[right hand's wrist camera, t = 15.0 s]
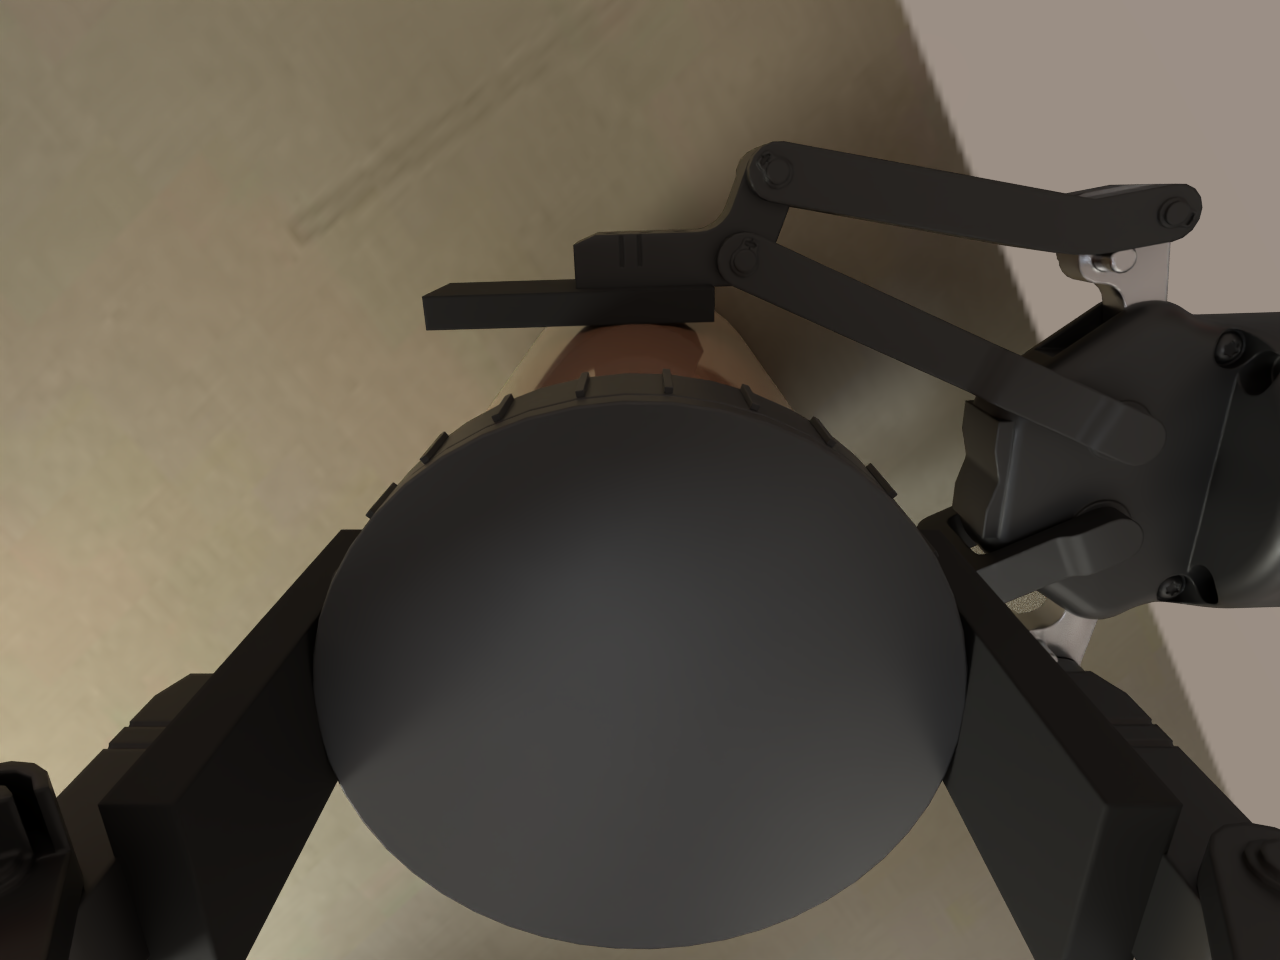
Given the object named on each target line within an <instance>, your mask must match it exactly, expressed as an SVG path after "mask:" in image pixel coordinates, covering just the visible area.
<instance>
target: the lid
mask: <svg viewBox="0 0 1280 960" xmlns="http://www.w3.org/2000/svg"><path fill="white" fill-rule="evenodd" d="M895 496H897V493H896V492H895V491H894V490H893V488H892V487H891V486H890V485H889V484H888V483H887V481H886V480H885V479H884V478H883V477H882V475H881V474H880V473H879V472H878V471H877V470H876V468H875V467H874V466H873V465H872V464H871V463H870V464H869V465H868V466H866V467H865V466H864V465H863V463H862V462H861V461H860V460H859V459H858V458H857V457H856V456H855V455H854V454H853V453H852V452H850V451H849V450H848V449H847V448H846V447H844V446H843V445H842V444H841V443H840V442H838V441H837V440H836V439H835V438H834V437H832V436H831V435H830V433H829V432H828V431H827V429H826V428H825V427H824V426H823V424H822V423H821V422H820V421H819V419H817V418H815V417H814V416H813V417H812V419H811V420H810V421H809V420H807V419H806V418H804V417H802V416H801V415H799V414H797V413H796V412H794V411H793V410H791V409H789V408H787V407H784V406H782V405H780V404H777V403H775V402H773V401H771V400H768V399H766V398H764V397H762V396H759V395H757V394H755V393H753V392H752V390H751V388H750V387H749V386H748V385H745V384H742V385H741V388H740V389H739V388H735V387H732V386H728V385H725V384H721V383H718V382H715V381H710V380H704V379H697V378H691V377H684V376H678V375H671V371H670V369H663V370H662V374H639V373H623V374H614V375H604V376H595V377H590V376H589V372H584V373H581V376H580V379H576V380H572V381H568V382H563V383H559V384H555V385H551V386H547V387H543V388H540V389H537V390H534V391H532V392H529V393H527V394H524V395H521V396H519V397H516V398H514V397H513V395H512V394H511V393H510V394H508V395H506V396H505V397H504V398H503V400H502V401H501V403H500V404H499V405H498V406H496V407H494V408H492V409H490V410H488V411H487V412H485V413H483V414H481V415H479V416H478V417H476V418H474V419H472V420H470V421H469V422H467V423H465V424H464V425H463V426H461V427H460V428H459V429H457V430H456V431H455V432H453V433H452V434H451V435H449V436H448V435H447V433H446V432H443V433H442V434H441V435H439V437H438V438H437V439H436V440H435V441H434V443H433V444H432V445H431V446H430V447H429V449H428V450H427V451H426V452H425V453H424V455H423V456H422V457H421V458H420V462H419V463H418V464H417V465H416V466H415V467H414V468H413V469H412V470H411V471H410V472H409V473H408V474H407V475H406V476H405V477H404V478H403V480H402V481H401V482H400V483H399V484H398V485H397V484H395V483H394V482H393V483H392V484H391V485H390V486H389V488H388V489H387V490H386V491H385V492H384V494H383V495H382V496H381V497H380V498H379V499H378V501H377V502H376V503H375V504H374V505H373V506H372V508H371V509H370V510H369V511H368V513H367V514H366V516H367V517H368V518H370V520H369V521H368V523H367V524H366V525H365V527H364V528H363V529H362V531H361V532H360V534H359V535H358V536H357V538H356V539H355V540H354V542H353V543H352V544H351V546H350V547H349V549H348V551H347V553H346V555H345V557H344V559H343V560H342V562H341V564H340V566H339V568H338V569H337V570H336V571H335V573H334V574H333V577H332V582H331V584H330V587H329V590H328V593H327V596H326V599H325V602H324V605H323V608H322V611H321V614H320V617H319V622H318V628H317V634H316V640H315V646H314V652H313V693H314V699H315V705H316V710H317V716H318V722H319V728H320V732H321V737H322V741H323V744H324V748H325V751H326V754H327V757H328V760H329V763H330V765H331V767H332V769H333V771H334V773H335V775H336V777H337V779H338V781H339V784H340V786H341V788H342V790H343V792H344V794H345V795H346V797H347V798H348V800H349V801H350V803H351V804H352V806H353V807H354V809H355V810H356V812H357V813H358V815H359V816H360V818H361V819H362V821H363V822H364V824H365V825H366V826H367V827H368V828H369V829H370V830H371V832H372V833H373V834H374V835H375V836H376V837H377V839H378V840H379V841H380V842H381V843H382V844H383V845H384V847H385V848H386V849H387V850H388V851H389V852H390V853H392V854H393V855H394V856H395V857H396V858H397V859H398V860H399V861H400V862H402V863H403V864H404V865H405V866H406V867H407V868H408V869H409V870H410V871H412V872H413V873H414V874H415V875H417V876H418V877H419V878H421V879H422V880H424V881H425V882H426V883H428V884H429V885H431V886H432V887H434V888H435V889H436V890H438V891H439V892H441V893H442V894H444V895H445V896H447V897H449V898H451V899H453V900H454V901H456V902H458V903H460V904H462V905H463V906H465V907H467V908H469V909H470V910H472V911H474V912H476V913H479V914H481V915H483V916H486V917H488V918H490V919H493V920H495V921H497V922H500V923H502V924H504V925H507V926H510V927H513V928H516V929H519V930H522V931H526V932H529V933H532V934H535V935H538V936H542V937H546V938H551V939H555V940H560V941H565V942H570V943H575V944H580V945H589V946H598V947H607V948H620V949H659V948H672V947H685V946H693V945H698V944H704V943H710V942H716V941H721V940H726V939H730V938H734V937H737V936H741V935H744V934H748V933H752V932H755V931H759V930H762V929H764V928H767V927H770V926H772V925H775V924H777V923H780V922H783V921H785V920H788V919H790V918H793V917H795V916H797V915H799V914H801V913H803V912H805V911H807V910H809V909H811V908H813V907H815V906H817V905H819V904H821V903H823V902H825V901H827V900H828V899H830V898H831V897H833V896H834V895H836V894H837V893H839V892H840V891H842V890H843V889H845V888H847V887H848V886H850V885H851V884H853V883H854V882H856V881H857V880H858V879H860V878H861V877H862V876H863V875H864V874H866V873H867V872H868V871H869V870H870V869H872V868H873V867H874V866H875V865H876V864H878V863H879V862H880V861H881V860H882V859H884V858H885V857H886V856H887V855H888V854H889V852H890V851H891V850H892V849H893V848H894V847H895V846H896V845H897V844H898V843H899V842H900V841H901V840H902V839H903V838H904V837H905V836H906V835H907V834H908V832H909V831H910V830H911V828H912V827H913V826H914V824H915V823H916V822H917V820H918V819H919V817H920V816H921V815H922V813H923V812H924V811H925V809H926V808H927V807H928V805H929V804H930V802H931V800H932V798H933V796H934V795H935V793H936V791H937V789H938V787H939V785H940V784H941V782H942V780H943V778H944V776H945V774H946V772H947V770H948V767H949V764H950V762H951V759H952V756H953V753H954V751H955V748H956V745H957V743H958V740H959V735H960V729H961V724H962V719H963V713H964V708H965V702H966V691H967V672H968V666H967V657H966V648H965V638H964V630H963V627H962V623H961V619H960V616H959V612H958V609H957V605H956V601H955V598H954V594H953V592H952V590H951V588H950V585H949V583H948V581H947V579H946V577H945V575H944V572H943V570H942V568H941V566H940V564H939V561H938V559H937V557H939V555H938V553H937V551H936V550H935V549H934V548H933V546H932V545H931V544H930V543H929V542H928V540H927V539H926V538H925V537H924V535H923V534H922V533H921V532H920V531H919V529H918V528H917V527H916V526H915V524H914V523H913V522H912V521H911V520H910V518H909V517H908V516H907V515H906V514H905V512H904V511H903V510H902V509H901V508H900V506H899V505H898V504H897V503H896V501H895V500H894V499H893V498H894V497H895Z"/></svg>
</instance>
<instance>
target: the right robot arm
mask: <svg viewBox="0 0 1280 960" xmlns="http://www.w3.org/2000/svg"><path fill="white" fill-rule="evenodd" d="M361 531H362V530H340V532H339V533H338V534H337V535H336V536H335V537H334V538H333V539H332V541H331V542H330V543H329V544H328V545H327V546H326V547H325V548H324V550H323V551H322V552H321V553H320V554H319V555H318V556H317V557H316V559H315V560H314V561H313V562H312V563H311V564H310V565H309V566H308V568H307V569H306V570H305V571H304V572H303V573H302V574H301V576H300V577H299V578H298V579H297V580H296V581H295V582H294V583H293V585H292V586H291V587H290V588H289V589H288V590H287V591H286V592H285V594H284V595H283V596H282V597H281V598H280V599H279V600H278V601H277V603H276V604H275V605H274V606H273V607H272V608H271V609H270V610H269V612H268V613H267V614H266V615H265V616H264V617H263V618H262V620H261V621H260V622H259V623H258V624H257V625H256V626H255V627H254V629H253V630H252V631H251V632H250V633H249V634H248V635H247V636H246V638H245V639H244V640H243V641H242V642H241V643H240V644H239V645H238V647H237V648H236V649H235V650H234V651H233V652H232V653H231V654H230V656H229V657H228V658H227V659H226V660H225V661H224V662H223V663H222V665H221V666H220V667H219V668H218V669H217V670H216V671H215V673H214V674H189V675H187V676H186V677H184V678H183V679H181V680H179V681H178V682H176V683H175V684H173V685H171V686H170V687H168V688H166V689H165V690H163V691H162V692H160V693H158V694H157V695H155V696H154V697H153V698H152V699H151V700H150V701H149V702H148V703H147V704H146V705H145V706H144V707H143V709H142V710H141V711H140V712H139V713H138V714H137V715H136V716H135V717H134V718H133V719H132V720H131V721H130V725H129V727H124V728H123V729H122V730H121V731H120V732H119V733H118V734H117V735H116V737H115V738H114V739H113V740H112V741H111V742H110V743H109V747H108V749H103V750H102V751H101V752H100V753H99V754H98V755H97V756H96V757H95V758H94V759H93V760H92V761H91V762H90V763H89V765H88V766H87V767H86V768H85V769H84V770H83V771H82V772H81V773H80V774H79V775H78V776H77V777H76V778H75V779H74V780H73V781H72V782H71V783H70V784H69V785H68V786H67V787H66V788H65V789H64V790H63V791H62V793H61V794H60V795H59V796H58V797H57V798H56V796H55V793H54V790H53V787H52V784H51V781H50V778H49V775H48V772H47V771H45V770H44V769H42V768H41V767H39V766H38V765H36V764H35V763H27V762H15V761H10V762H4V763H0V960H246V958H247V956H248V954H249V952H250V950H251V948H252V946H253V944H254V942H255V940H256V939H257V937H258V935H259V933H260V931H261V929H262V927H263V925H264V923H265V921H266V919H267V917H268V915H269V913H270V911H271V909H272V907H273V905H274V903H275V902H276V900H277V898H278V896H279V894H280V892H281V890H282V888H283V886H284V884H285V882H286V880H287V878H288V876H289V874H290V872H291V870H292V868H293V867H294V865H295V863H296V861H297V859H298V857H299V855H300V853H301V851H302V849H303V847H304V845H305V843H306V841H307V839H308V837H309V835H310V833H311V832H312V830H313V828H314V826H315V824H316V822H317V820H318V818H319V816H320V814H321V812H322V810H323V808H324V806H325V804H326V802H327V800H328V798H329V797H330V795H331V793H332V791H333V789H334V787H335V785H336V783H337V781H338V779H337V777H336V775H335V773H334V771H333V769H332V767H331V765H330V763H329V760H328V757H327V754H326V751H325V748H324V744H323V741H322V737H321V732H320V728H319V722H318V716H317V710H316V705H315V699H314V693H313V652H314V646H315V640H316V634H317V628H318V622H319V617H320V614H321V611H322V608H323V605H324V602H325V599H326V596H327V593H328V590H329V587H330V584H331V582H332V577H333V574H334V573H335V571H336V570H337V569H338V568H339V566H340V564H341V562H342V560H343V559H344V557H345V555H346V553H347V551H348V549H349V547H350V546H351V544H352V543H353V542H354V540H355V539H356V538H357V536H358V535H359V534H360V532H361ZM919 531H920V532H921V533H922V534H923V535H924V537H925V538H926V539H927V540H928V542H929V543H930V544H931V545H932V546H933V548H934V549H935V550H936V551H937V553H938V555H939V557H937V559H938V561H939V564H940V566H941V568H942V570H943V572H944V575H945V577H946V579H947V581H948V583H949V585H950V588H951V590H952V592H953V594H954V598H955V601H956V605H957V609H958V612H959V616H960V619H961V623H962V627H963V630H964V638H965V648H966V657H967V666H968V672H967V691H966V702H965V708H964V713H963V719H962V724H961V729H960V735H959V740H958V743H957V745H956V748H955V751H954V753H953V756H952V759H951V762H950V764H949V767H948V770H947V772H946V774H945V776H944V778H943V782H944V784H945V786H946V788H947V790H948V792H949V794H950V796H951V798H952V799H953V801H954V803H955V805H956V807H957V809H958V811H959V813H960V815H961V817H962V819H963V821H964V823H965V825H966V827H967V829H968V831H969V833H970V834H971V836H972V838H973V840H974V842H975V844H976V846H977V848H978V850H979V852H980V854H981V856H982V858H983V860H984V862H985V864H986V866H987V868H988V869H989V871H990V873H991V875H992V877H993V879H994V881H995V883H996V885H997V887H998V889H999V891H1000V893H1001V895H1002V897H1003V899H1004V901H1005V903H1006V905H1007V906H1008V908H1009V910H1010V912H1011V914H1012V916H1013V918H1014V920H1015V922H1016V924H1017V926H1018V928H1019V930H1020V932H1021V934H1022V936H1023V938H1024V940H1025V941H1026V943H1027V945H1028V947H1029V949H1030V951H1031V953H1032V955H1033V957H1034V959H1035V960H1133V959H1134V958H1135V959H1136V960H1280V829H1278V828H1275V827H1270V826H1264V825H1259V824H1254V823H1252V822H1251V821H1250V820H1249V819H1248V818H1247V817H1246V816H1245V815H1244V814H1243V813H1242V812H1241V811H1240V810H1239V809H1238V808H1237V807H1236V806H1235V805H1234V804H1233V803H1232V802H1231V801H1230V799H1229V798H1228V797H1227V796H1226V795H1225V794H1224V793H1223V792H1222V791H1221V790H1220V789H1219V788H1218V787H1217V786H1216V785H1215V784H1214V783H1213V782H1212V781H1211V780H1210V779H1209V778H1208V777H1207V776H1206V775H1205V774H1204V773H1203V772H1202V771H1201V770H1200V769H1199V768H1198V767H1197V765H1196V764H1195V763H1194V762H1193V761H1192V760H1191V759H1190V758H1189V757H1188V756H1187V755H1186V754H1185V753H1184V752H1183V751H1182V750H1181V749H1180V748H1179V747H1178V746H1173V743H1172V742H1173V741H1172V740H1171V739H1170V738H1169V737H1168V736H1167V735H1166V734H1165V733H1164V731H1163V730H1162V729H1161V728H1160V727H1159V726H1158V725H1157V724H1152V719H1151V718H1150V717H1149V716H1148V715H1147V714H1146V713H1145V712H1144V711H1143V710H1142V709H1141V708H1140V707H1139V706H1138V705H1137V704H1136V703H1135V702H1134V701H1133V700H1132V699H1131V697H1130V696H1129V695H1128V694H1127V693H1125V692H1124V691H1122V690H1120V689H1119V688H1117V687H1115V686H1114V685H1112V684H1111V683H1109V682H1107V681H1106V680H1104V679H1102V678H1101V677H1099V676H1098V675H1096V674H1094V673H1093V672H1091V671H1064V670H1063V669H1062V667H1061V666H1060V665H1059V664H1058V663H1057V662H1056V661H1055V660H1054V658H1053V657H1052V656H1051V655H1050V654H1049V653H1048V652H1047V650H1046V649H1045V648H1044V647H1043V646H1042V645H1041V644H1040V643H1039V641H1038V640H1037V639H1036V638H1035V637H1034V636H1033V635H1032V634H1031V632H1030V631H1029V630H1028V629H1027V628H1026V627H1025V626H1024V625H1023V623H1022V622H1021V621H1020V620H1019V619H1018V618H1017V617H1016V616H1015V614H1014V613H1013V612H1012V611H1011V610H1010V609H1009V608H1008V607H1007V605H1006V604H1005V603H1004V602H1003V601H1002V600H1001V599H1000V597H999V596H998V595H997V594H996V593H995V592H994V591H993V590H992V588H991V587H990V586H989V585H988V584H987V583H986V582H985V581H984V579H983V578H982V577H981V576H980V575H979V574H978V573H977V572H976V570H975V569H974V568H973V567H972V566H971V565H970V564H969V563H968V561H967V560H966V559H965V558H964V557H963V556H962V555H961V553H960V552H959V551H958V550H957V549H956V548H955V547H954V546H953V544H952V543H951V542H950V541H949V540H948V539H947V538H946V537H945V535H944V534H943V533H942V532H941V531H940V530H919Z"/></svg>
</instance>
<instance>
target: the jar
mask: <svg viewBox="0 0 1280 960" xmlns="http://www.w3.org/2000/svg"><path fill="white" fill-rule="evenodd" d="M663 369H670V371H671V375H678V376H684V377H691V378H697V379H704V380H710V381H715V382H718V383H721V384H725V385H728V386H732V387H735V388H739V389H740V388H741V385H742V384H745V385H748V386H749V387H750V388H751V390H752V392H753V393H755V394H757V395H759V396H762V397H764V398H766V399H768V400H771V401H773V402H775V403H777V404H780V405H782V406H784V407H787V408H789V409H791V410H793V409H792V408H791V406H790V405H789V403H788V402H787V401H786V399H785V398H784V396H783V395H782V394H781V392H780V391H779V389H778V388H777V387H776V385H775V384H774V382H773V381H772V379H771V378H770V377H769V375H768V374H767V372H766V371H765V370H764V368H763V367H762V365H761V364H760V362H759V361H758V360H757V358H756V357H755V355H754V354H753V353H752V351H751V350H750V348H749V347H748V345H747V344H746V343H745V341H744V340H743V339H742V337H741V336H740V335H739V333H738V332H737V331H736V329H735V328H734V327H733V326H732V325H731V324H730V323H729V322H728V321H727V320H726V319H725V318H724V317H722V316H721V315H720V314H718V313H717V312H716V311H715V312H714V322H698V323H663V324H625V325H595V326H561V327H546V328H545V329H544V330H543V331H542V332H541V334H540V335H539V337H538V338H537V339H536V341H535V342H534V344H533V345H532V347H531V348H530V349H529V351H528V352H527V354H526V355H525V356H524V358H523V359H522V361H521V362H520V364H519V365H518V366H517V368H516V369H515V371H514V372H513V373H512V375H511V376H510V378H509V379H508V381H507V382H506V383H505V385H504V386H503V388H502V389H501V391H500V392H499V393H498V395H497V396H496V398H495V399H494V400H493V402H492V403H491V405H490V406H489V408H488V409H487V410H486V412H487V411H488V410H490V409H492V408H494V407H496V406H498V405H499V404H500V403H501V401H502V400H503V398H504V397H505V396H506V395H508V394H510V393H511V394H512V395H513V397H514V398H516V397H519V396H521V395H524V394H527V393H529V392H532V391H534V390H537V389H540V388H543V387H547V386H551V385H555V384H559V383H563V382H568V381H572V380H576V379H580V376H581V373H584V372H589V376H590V377H595V376H604V375H614V374H623V373H639V374H662V370H663Z"/></svg>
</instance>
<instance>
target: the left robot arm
mask: <svg viewBox="0 0 1280 960" xmlns="http://www.w3.org/2000/svg"><path fill="white" fill-rule="evenodd" d="M789 207H794V208H799V209H805V210H810V211H816V212H822V213H827V214H833V215H838V216H844V217H849V218H855V219H860V220H866V221H871V222H877V223H883V224H888V225H894V226H899V227H905V228H910V229H916V230H921V231H927V232H933V233H938V234H944V235H949V236H955V237H960V238H966V239H971V240H977V241H983V242H988V243H994V244H999V245H1005V246H1012V247H1019V248H1026V249H1033V250H1040V251H1046V252H1053V253H1056V255H1057V259H1058V261H1059V266H1060V268H1061V270H1062V272H1063V273H1064V274H1065V275H1066V276H1067V277H1070V278H1072V279H1075V280H1080V281H1086V282H1090V283H1094V284H1095V285H1096V286H1097V287H1098V288H1099V290H1100V292H1101V294H1102V302H1100V303H1098V304H1097V305H1095V306H1094V307H1092V308H1091V309H1089V310H1088V311H1086V312H1085V313H1083V314H1082V315H1080V316H1079V317H1078V318H1076V319H1075V320H1073V321H1072V322H1070V323H1069V324H1067V325H1066V326H1064V327H1063V328H1061V329H1060V330H1058V331H1057V332H1055V333H1054V334H1052V335H1051V336H1049V337H1048V338H1046V339H1045V340H1043V341H1042V342H1040V343H1039V344H1037V345H1036V346H1034V347H1033V348H1031V349H1030V350H1028V351H1027V352H1025V353H1024V354H1022V355H1021V356H1020V355H1018V354H1016V353H1014V352H1011V351H1009V350H1007V349H1005V348H1002V347H1000V346H998V345H996V344H994V343H991V342H989V341H987V340H985V339H983V338H980V337H978V336H976V335H974V334H972V333H970V332H967V331H965V330H963V329H961V328H959V327H957V326H954V325H952V324H950V323H948V322H946V321H944V320H941V319H939V318H937V317H935V316H933V315H931V314H928V313H926V312H924V311H922V310H920V309H918V308H915V307H913V306H911V305H909V304H907V303H905V302H902V301H900V300H898V299H896V298H894V297H892V296H889V295H887V294H885V293H883V292H881V291H879V290H876V289H874V288H872V287H870V286H868V285H866V284H863V283H861V282H859V281H857V280H855V279H853V278H850V277H848V276H846V275H844V274H842V273H840V272H837V271H835V270H833V269H831V268H829V267H827V266H824V265H822V264H820V263H818V262H816V261H814V260H811V259H809V258H807V257H805V256H803V255H801V254H798V253H796V252H794V251H792V250H790V249H788V248H785V247H783V246H781V245H779V244H777V243H776V241H777V238H778V236H779V233H780V230H781V228H782V225H783V222H784V220H785V217H786V214H787V212H788V209H789ZM1201 211H1202V201H1201V196H1200V195H1199V193H1198V192H1197V190H1196V189H1195V188H1193V187H1191V186H1189V185H1187V184H1134V185H1107V186H1102V187H1097V188H1092V189H1086V190H1081V191H1076V192H1071V193H1060V192H1055V191H1049V190H1044V189H1038V188H1033V187H1027V186H1022V185H1017V184H1011V183H1006V182H1000V181H995V180H990V179H984V178H979V177H974V176H968V175H963V174H958V173H952V172H947V171H941V170H936V169H931V168H925V167H920V166H914V165H909V164H904V163H898V162H893V161H887V160H882V159H877V158H871V157H866V156H860V155H855V154H850V153H844V152H839V151H833V150H828V149H823V148H817V147H812V146H806V145H801V144H796V143H790V142H785V141H779V142H771V143H768V144H765V145H762V146H760V147H757V148H755V149H753V150H751V151H749V152H747V153H746V154H745V155H744V156H743V157H742V158H741V160H740V161H739V164H738V167H737V169H736V178H735V180H734V183H733V186H732V189H731V192H730V195H729V198H728V200H727V203H726V206H725V208H724V210H723V212H722V214H721V215H720V216H719V217H718V219H717V220H715V221H714V222H713V223H712V224H710V225H708V226H706V227H703V228H699V229H686V230H653V231H623V232H598V233H595V234H593V235H591V236H589V237H587V238H585V239H582V240H580V241H578V242H577V243H576V244H574V245H573V247H574V265H575V279H570V280H536V281H503V282H469V283H449V284H447V285H445V286H443V287H441V288H439V289H437V290H435V291H433V292H431V293H428V294H426V295H424V296H422V300H423V308H424V316H425V323H426V330H458V329H492V328H527V327H561V326H595V325H625V324H663V323H698V322H714V312H715V288H714V286H734V287H736V288H738V289H740V290H743V291H745V292H747V293H749V294H751V295H754V296H756V297H758V298H760V299H763V300H765V301H767V302H769V303H771V304H774V305H776V306H778V307H780V308H783V309H785V310H787V311H789V312H792V313H794V314H796V315H798V316H800V317H803V318H805V319H807V320H809V321H812V322H814V323H816V324H818V325H821V326H823V327H825V328H827V329H829V330H832V331H834V332H836V333H838V334H841V335H843V336H845V337H847V338H850V339H852V340H854V341H856V342H858V343H861V344H863V345H865V346H867V347H870V348H872V349H874V350H876V351H879V352H881V353H883V354H885V355H887V356H890V357H892V358H894V359H896V360H899V361H901V362H903V363H905V364H908V365H910V366H912V367H914V368H916V369H919V370H921V371H923V372H925V373H928V374H930V375H932V376H934V377H937V378H939V379H941V380H943V381H945V382H948V383H950V384H952V385H954V386H957V387H959V388H961V389H963V390H965V391H968V392H970V393H972V394H974V395H976V398H975V400H966V401H965V409H964V417H963V425H962V430H963V437H964V443H965V449H966V458H965V460H964V463H963V465H962V467H961V470H960V472H959V475H958V477H957V480H956V482H955V489H954V497H953V505H952V507H949V508H947V509H945V510H942V511H940V512H938V513H935V514H933V515H931V516H928V517H927V518H925V519H923V520H922V521H921V522H920V523H919V524H918V526H917V528H918V529H919V530H940V531H941V532H942V533H943V534H944V535H945V537H946V538H947V539H948V540H949V541H950V542H951V543H952V544H953V546H954V547H955V548H956V549H957V550H958V551H959V552H960V553H961V555H962V556H963V557H964V558H965V559H966V560H967V561H968V563H969V564H970V565H971V566H972V567H973V568H974V569H975V570H976V572H977V573H978V574H979V575H980V576H981V577H982V578H983V579H984V581H985V582H986V583H987V584H988V585H989V586H990V587H991V588H992V590H993V591H994V592H995V593H996V594H997V595H998V596H999V597H1000V599H1001V600H1002V601H1003V602H1004V603H1006V602H1009V601H1011V600H1014V599H1016V598H1019V597H1021V596H1024V595H1026V594H1029V593H1031V592H1034V591H1036V590H1037V591H1038V592H1040V593H1041V594H1043V595H1044V596H1046V597H1047V599H1046V601H1045V602H1044V603H1043V604H1042V605H1041V606H1040V607H1039V608H1037V609H1036V610H1033V611H1030V612H1025V613H1017V612H1015V611H1014V610H1011V611H1012V612H1013V613H1014V614H1015V616H1016V617H1017V618H1018V619H1019V620H1020V621H1021V622H1022V623H1023V625H1024V626H1025V627H1026V628H1027V629H1028V630H1029V631H1030V632H1031V634H1032V635H1033V636H1034V637H1035V638H1036V639H1037V640H1038V641H1039V643H1040V644H1041V645H1042V646H1043V647H1044V648H1045V649H1046V650H1047V652H1048V653H1049V654H1050V655H1051V656H1052V657H1053V658H1054V660H1055V661H1056V662H1057V663H1058V664H1059V665H1060V666H1061V667H1062V669H1063V670H1064V671H1084V670H1083V669H1082V668H1081V667H1080V665H1081V661H1082V659H1083V656H1084V653H1085V651H1086V648H1087V646H1088V643H1089V641H1090V638H1091V635H1092V633H1093V630H1094V628H1095V625H1096V622H1097V620H1098V619H1106V618H1110V617H1113V616H1116V615H1118V614H1121V613H1123V612H1125V611H1127V610H1129V609H1131V608H1134V607H1136V606H1139V605H1143V604H1146V603H1151V602H1171V603H1180V604H1187V605H1195V606H1202V607H1212V608H1253V607H1280V312H1267V313H1233V314H1200V315H1195V314H1194V315H1193V314H1191V313H1189V312H1187V311H1186V310H1184V309H1183V308H1181V307H1180V306H1178V305H1176V304H1173V303H1171V302H1167V291H1168V274H1169V257H1170V242H1173V241H1175V240H1178V239H1180V238H1183V237H1184V236H1185V235H1187V234H1188V233H1189V232H1190V231H1192V230H1193V228H1194V227H1195V225H1196V224H1197V222H1198V220H1199V219H1200V215H1201ZM976 545H978V546H979V547H980V548H981V550H982V551H983V552H984V553H985V554H976V553H974V552H973V551H972V550H971V549H970V548H971V547H974V546H976Z"/></svg>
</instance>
